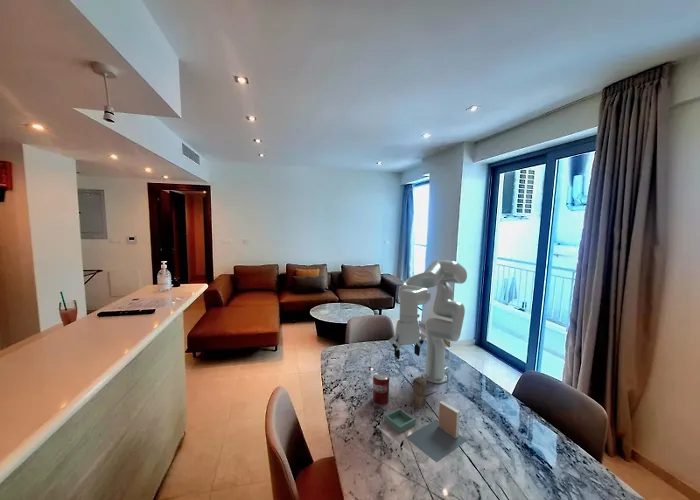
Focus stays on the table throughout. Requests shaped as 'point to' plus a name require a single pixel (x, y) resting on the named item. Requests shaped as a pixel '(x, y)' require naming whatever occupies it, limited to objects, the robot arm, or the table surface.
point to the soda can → (380, 388)
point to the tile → (449, 419)
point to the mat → (435, 441)
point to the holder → (400, 420)
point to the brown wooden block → (419, 392)
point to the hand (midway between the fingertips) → (407, 356)
